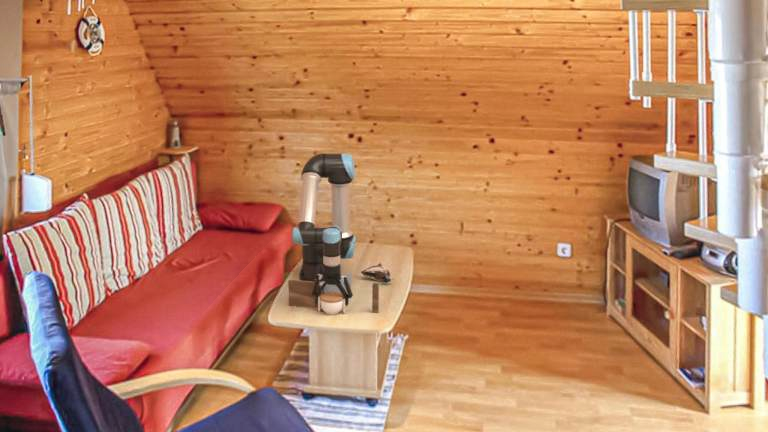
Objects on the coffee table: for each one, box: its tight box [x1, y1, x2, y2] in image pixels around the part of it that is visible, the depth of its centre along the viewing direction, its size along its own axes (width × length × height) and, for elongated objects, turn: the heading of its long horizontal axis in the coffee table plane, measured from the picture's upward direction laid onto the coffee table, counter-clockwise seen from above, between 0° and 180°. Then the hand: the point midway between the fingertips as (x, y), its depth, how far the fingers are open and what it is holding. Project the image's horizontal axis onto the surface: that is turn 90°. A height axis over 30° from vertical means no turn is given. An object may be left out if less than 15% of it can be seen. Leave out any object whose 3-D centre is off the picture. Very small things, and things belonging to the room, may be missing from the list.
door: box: [320, 273, 352, 309], centre depth 326 cm, size 2×22×10 cm, turn 145°
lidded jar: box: [320, 292, 344, 316], centre depth 313 cm, size 11×11×9 cm
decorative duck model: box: [360, 262, 395, 283], centre depth 351 cm, size 15×8×15 cm
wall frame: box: [287, 278, 380, 314], centre depth 316 cm, size 2×41×14 cm, turn 79°
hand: (332, 311), depth 314 cm, fingers closed on lidded jar, 11 cm apart
